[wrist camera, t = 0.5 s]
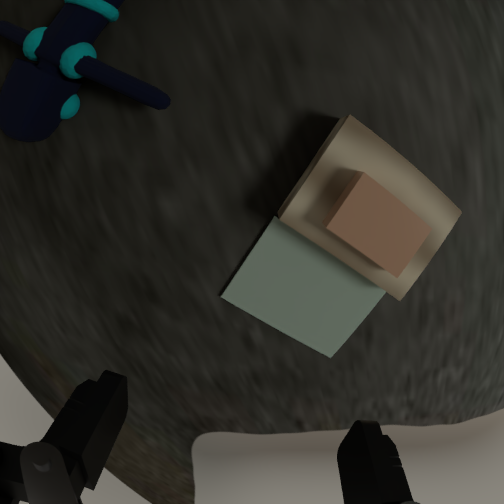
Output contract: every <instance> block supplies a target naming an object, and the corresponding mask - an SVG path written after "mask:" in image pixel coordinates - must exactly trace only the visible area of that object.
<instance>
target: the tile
mask: <svg viewBox="0 0 504 504" xmlns="http://www.w3.org/2000/svg"><path fill="white" fill-rule="evenodd" d="M322 223H323V225H324V226H325V227H326V228H327V229H328V230H330V231H331V232H333V233H334V234H336V235H337V236H339V237H340V238H342V239H343V240H344V241H346V242H347V243H349V244H350V245H352V246H353V247H354V248H356V249H357V250H359V251H360V252H361V253H363V254H364V255H366V256H367V257H368V258H370V259H371V260H373V261H374V262H375V263H377V264H378V265H380V266H381V267H382V268H384V269H385V270H386V271H388V272H389V273H390V274H392V275H393V276H394V277H396V278H398V277H399V275H400V274H401V273H402V271H403V270H404V269H405V267H406V266H407V265H408V263H409V262H410V260H411V259H412V258H413V256H414V255H415V253H416V252H417V251H418V249H419V248H420V246H421V245H422V243H423V242H424V240H425V239H426V238H427V236H428V235H429V233H430V232H431V230H432V228H431V227H430V226H429V225H428V224H427V223H425V222H424V221H423V220H422V219H421V218H420V217H419V216H417V215H416V214H415V213H414V212H413V211H412V210H410V209H409V208H408V207H407V206H406V205H405V204H403V203H402V202H401V201H400V200H399V199H397V198H396V197H395V196H394V195H393V194H391V193H390V192H389V191H388V190H386V189H385V188H384V187H383V186H381V185H380V184H379V183H378V182H376V181H375V180H374V179H372V178H371V177H370V176H369V175H367V174H366V173H365V172H362V171H357V172H356V173H355V175H354V176H353V178H352V179H351V180H350V182H349V183H348V185H347V186H346V188H345V189H344V191H343V192H342V194H341V195H340V197H339V198H338V200H337V201H336V203H335V204H334V205H333V207H332V208H331V210H330V211H329V213H328V214H327V216H326V217H325V219H324V220H323V221H322Z"/></svg>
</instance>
